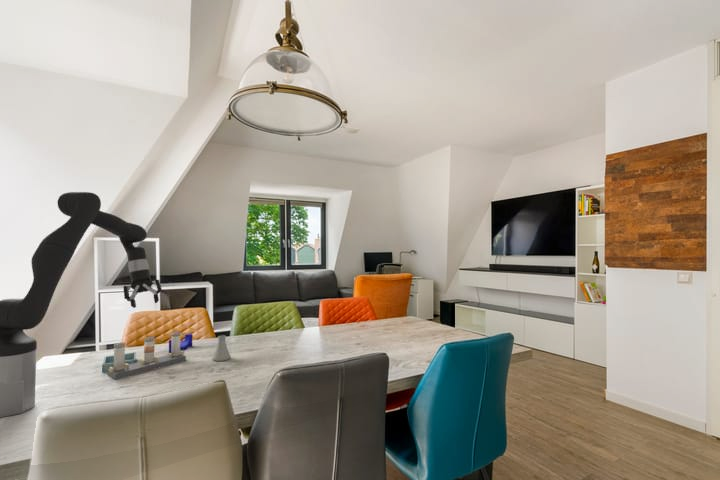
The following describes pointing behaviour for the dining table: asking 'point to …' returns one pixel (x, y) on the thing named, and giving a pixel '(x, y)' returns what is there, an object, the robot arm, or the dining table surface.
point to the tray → (109, 361)
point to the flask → (221, 350)
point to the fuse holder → (146, 365)
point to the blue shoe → (183, 342)
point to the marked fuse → (149, 350)
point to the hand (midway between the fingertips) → (145, 305)
